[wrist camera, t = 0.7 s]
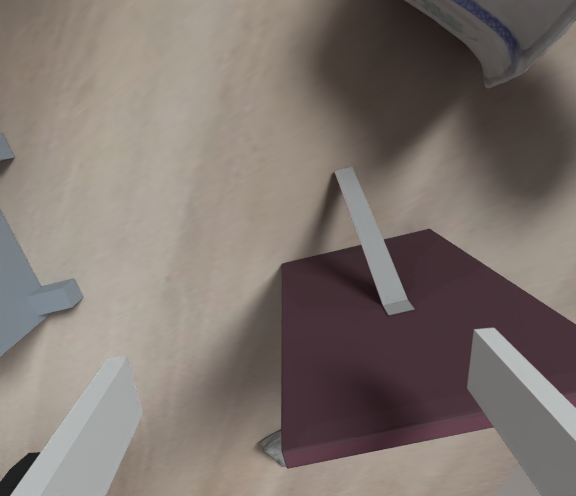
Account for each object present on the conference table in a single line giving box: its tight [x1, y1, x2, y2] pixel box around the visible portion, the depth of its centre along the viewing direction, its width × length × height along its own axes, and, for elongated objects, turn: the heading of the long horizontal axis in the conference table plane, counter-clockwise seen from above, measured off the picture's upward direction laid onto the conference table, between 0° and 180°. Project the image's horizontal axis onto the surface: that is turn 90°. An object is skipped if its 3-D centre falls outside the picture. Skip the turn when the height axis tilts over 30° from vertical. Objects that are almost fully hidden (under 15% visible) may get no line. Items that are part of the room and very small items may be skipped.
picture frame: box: [281, 167, 576, 469], centre depth 27 cm, size 17×10×25 cm, turn 104°
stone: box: [261, 430, 286, 467], centre depth 47 cm, size 6×12×4 cm, turn 134°
